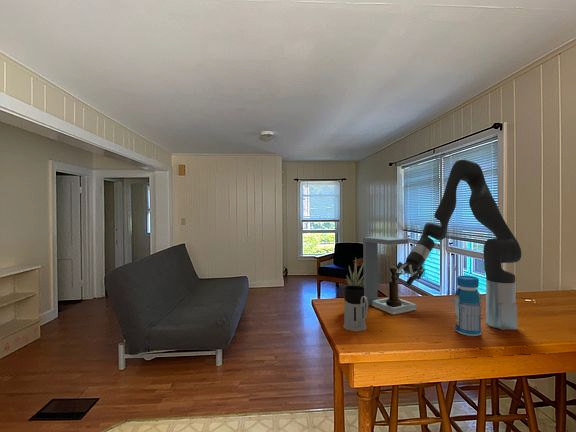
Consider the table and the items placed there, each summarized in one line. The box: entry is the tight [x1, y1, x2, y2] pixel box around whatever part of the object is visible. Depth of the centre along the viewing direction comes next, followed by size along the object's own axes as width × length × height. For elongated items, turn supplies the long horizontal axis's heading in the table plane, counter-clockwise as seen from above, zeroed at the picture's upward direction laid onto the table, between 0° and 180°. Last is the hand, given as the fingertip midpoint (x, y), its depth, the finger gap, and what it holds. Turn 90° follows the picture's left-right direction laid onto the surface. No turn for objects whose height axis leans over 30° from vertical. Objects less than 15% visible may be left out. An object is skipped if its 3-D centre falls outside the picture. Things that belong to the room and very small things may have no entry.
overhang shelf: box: [362, 235, 417, 315], centre depth 142 cm, size 16×17×32 cm
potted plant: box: [343, 257, 367, 303], centre depth 134 cm, size 10×10×25 cm
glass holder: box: [342, 285, 369, 332], centre depth 116 cm, size 9×14×15 cm, turn 15°
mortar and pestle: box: [386, 265, 402, 307], centre depth 141 cm, size 7×6×18 cm
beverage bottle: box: [454, 275, 483, 337], centre depth 112 cm, size 8×8×20 cm
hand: (400, 282), depth 142 cm, fingers open, 8 cm apart
